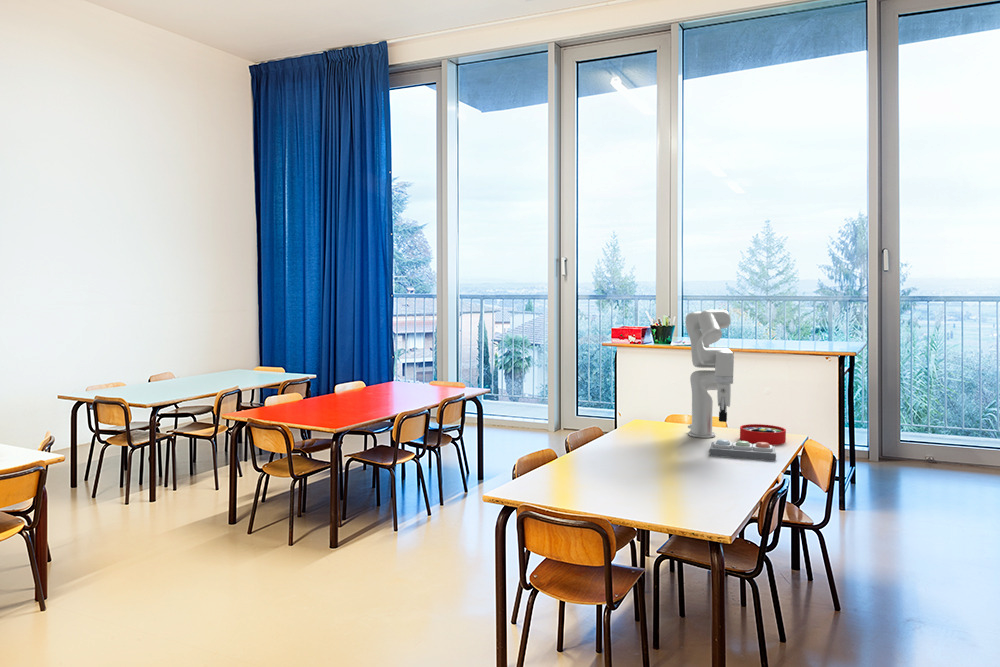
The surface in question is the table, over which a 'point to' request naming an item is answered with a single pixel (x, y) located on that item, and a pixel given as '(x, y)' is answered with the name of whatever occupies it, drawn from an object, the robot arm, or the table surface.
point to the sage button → (742, 443)
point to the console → (743, 451)
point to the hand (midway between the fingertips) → (722, 421)
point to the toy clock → (763, 434)
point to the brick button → (762, 444)
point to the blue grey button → (723, 442)
